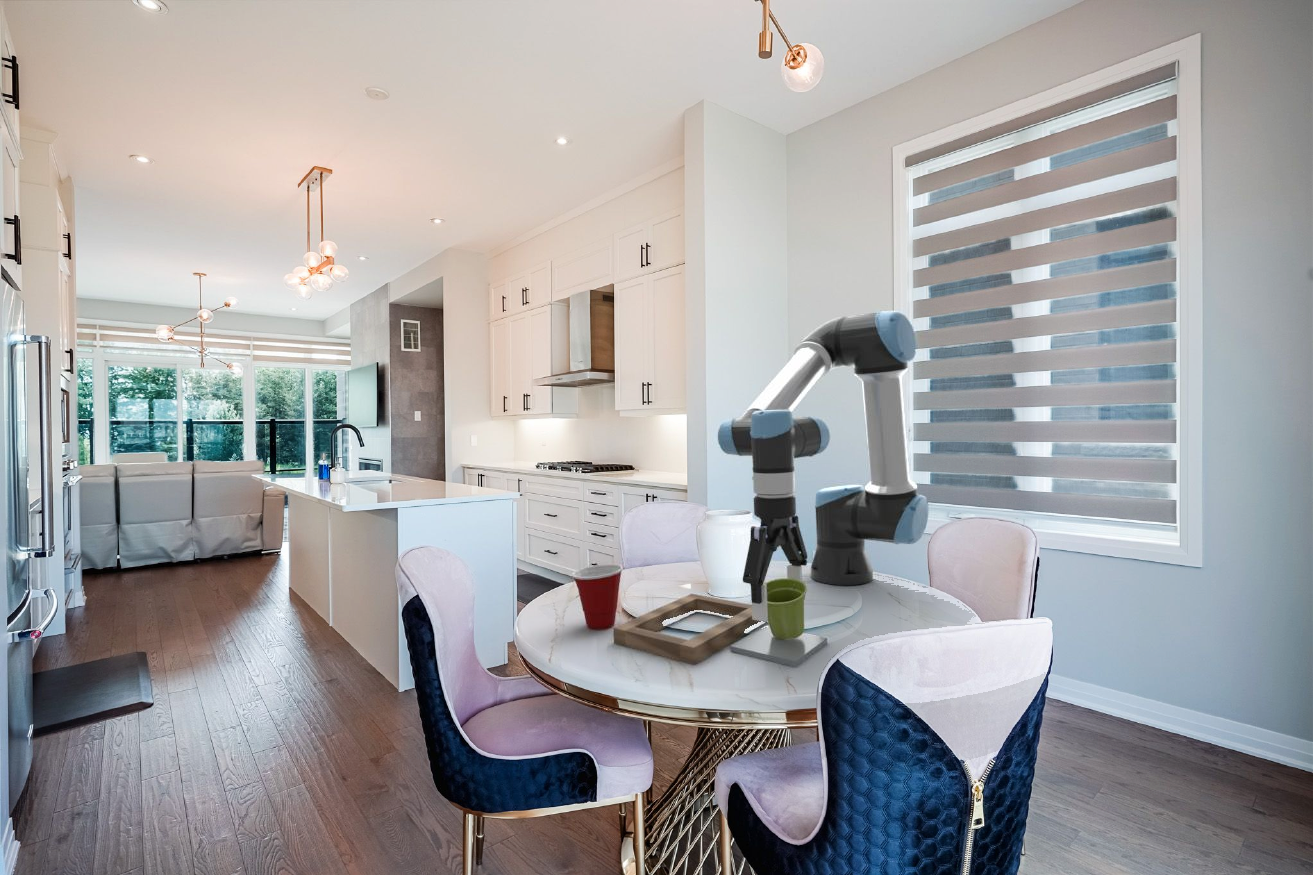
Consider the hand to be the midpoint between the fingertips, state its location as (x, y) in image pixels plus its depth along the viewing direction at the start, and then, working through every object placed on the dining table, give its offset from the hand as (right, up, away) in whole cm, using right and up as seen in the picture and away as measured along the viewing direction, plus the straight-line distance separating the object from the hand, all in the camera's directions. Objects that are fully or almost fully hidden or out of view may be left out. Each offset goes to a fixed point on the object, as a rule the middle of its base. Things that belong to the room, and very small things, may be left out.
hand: (778, 609), depth 119 cm
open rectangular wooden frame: (-15, -7, +10) cm, 19 cm away
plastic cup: (-34, -8, +16) cm, 39 cm away
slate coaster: (0, -7, 0) cm, 7 cm away
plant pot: (+3, -5, +3) cm, 7 cm away
